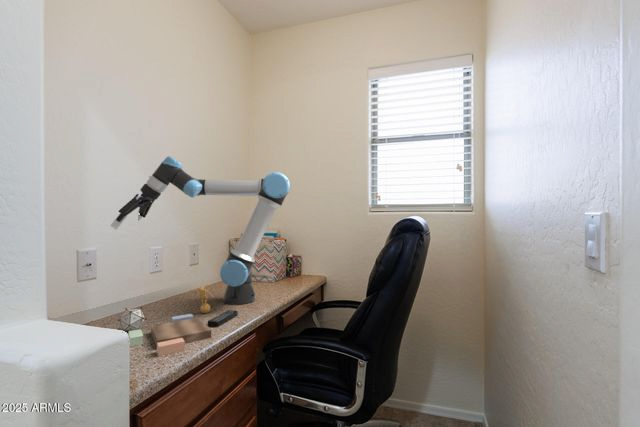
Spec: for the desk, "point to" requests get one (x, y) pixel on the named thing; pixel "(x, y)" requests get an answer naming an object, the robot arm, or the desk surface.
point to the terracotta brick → (170, 346)
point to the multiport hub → (222, 318)
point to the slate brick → (181, 317)
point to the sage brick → (136, 337)
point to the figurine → (205, 307)
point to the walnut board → (181, 331)
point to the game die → (132, 319)
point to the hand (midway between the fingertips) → (122, 227)
